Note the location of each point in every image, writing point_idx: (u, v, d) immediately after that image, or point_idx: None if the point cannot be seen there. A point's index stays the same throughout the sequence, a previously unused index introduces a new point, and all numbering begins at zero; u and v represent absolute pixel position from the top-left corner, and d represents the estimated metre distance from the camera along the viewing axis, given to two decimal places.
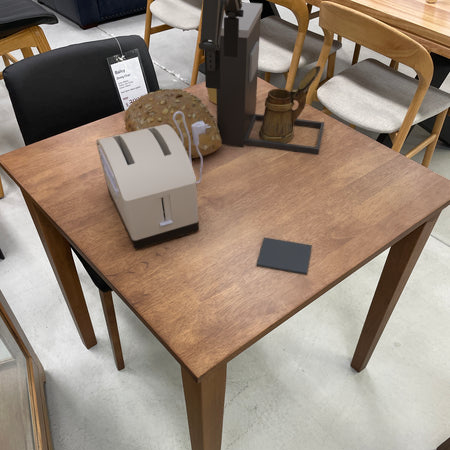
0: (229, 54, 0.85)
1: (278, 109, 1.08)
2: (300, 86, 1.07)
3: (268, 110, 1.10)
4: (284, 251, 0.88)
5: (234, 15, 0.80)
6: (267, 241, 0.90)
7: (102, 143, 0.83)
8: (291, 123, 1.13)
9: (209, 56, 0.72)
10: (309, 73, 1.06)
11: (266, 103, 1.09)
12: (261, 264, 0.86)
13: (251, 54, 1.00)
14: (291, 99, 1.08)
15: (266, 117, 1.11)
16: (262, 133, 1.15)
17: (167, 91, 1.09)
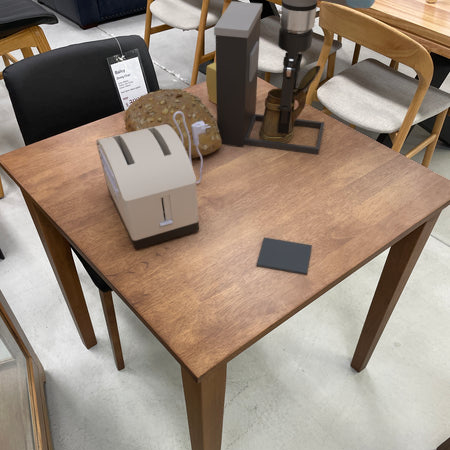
0: None
1: (278, 109, 1.08)
2: (300, 86, 1.07)
3: (268, 110, 1.10)
4: (284, 251, 0.88)
5: (292, 90, 1.11)
6: (267, 241, 0.90)
7: (102, 143, 0.83)
8: (291, 123, 1.13)
9: (283, 114, 1.07)
10: (309, 73, 1.06)
11: (266, 103, 1.09)
12: (261, 264, 0.86)
13: (251, 54, 1.00)
14: None
15: (266, 117, 1.11)
16: (262, 133, 1.15)
17: (167, 91, 1.09)
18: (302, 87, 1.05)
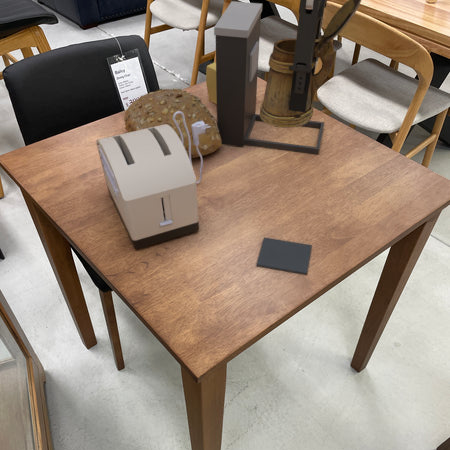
0: None
1: (290, 70, 0.67)
2: (326, 32, 0.66)
3: (274, 73, 0.69)
4: (284, 251, 0.88)
5: None
6: (267, 241, 0.90)
7: (102, 143, 0.83)
8: (310, 95, 0.72)
9: (299, 78, 0.66)
10: (341, 11, 0.65)
11: (271, 61, 0.69)
12: (261, 264, 0.86)
13: (251, 54, 1.00)
14: None
15: (270, 84, 0.71)
16: (264, 111, 0.74)
17: (167, 91, 1.09)
18: (330, 33, 0.64)
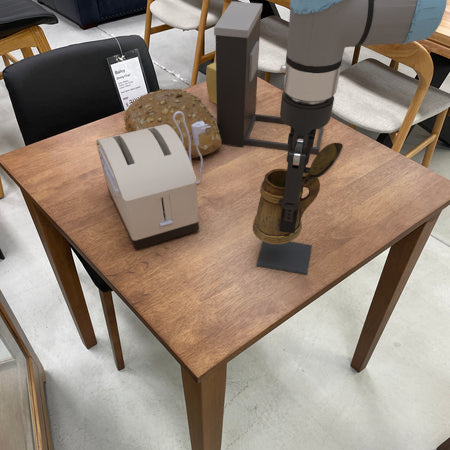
0: None
1: None
2: (312, 169, 0.72)
3: (265, 201, 0.76)
4: (284, 251, 0.88)
5: None
6: None
7: (102, 143, 0.83)
8: (298, 216, 0.79)
9: (288, 210, 0.73)
10: (325, 151, 0.72)
11: (262, 191, 0.75)
12: (261, 264, 0.86)
13: (251, 54, 1.00)
14: None
15: (262, 209, 0.77)
16: (257, 228, 0.80)
17: (167, 91, 1.09)
18: (315, 173, 0.71)
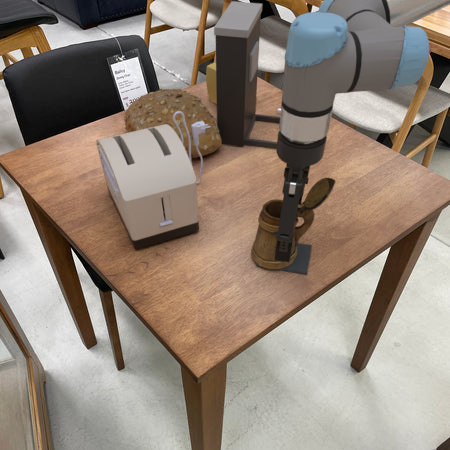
0: None
1: (276, 231, 0.79)
2: (306, 202, 0.78)
3: (263, 230, 0.81)
4: None
5: None
6: None
7: (102, 143, 0.83)
8: (294, 242, 0.84)
9: (283, 241, 0.74)
10: (319, 185, 0.77)
11: (260, 221, 0.80)
12: None
13: (251, 54, 1.00)
14: None
15: (260, 236, 0.82)
16: (255, 254, 0.86)
17: (167, 91, 1.09)
18: (310, 206, 0.76)
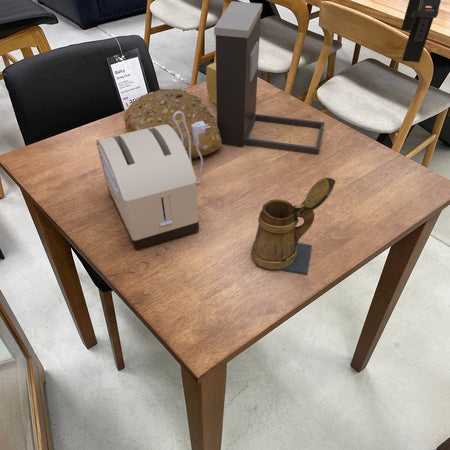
0: (408, 28, 0.80)
1: (276, 231, 0.79)
2: (307, 202, 0.78)
3: (263, 230, 0.81)
4: None
5: None
6: None
7: (102, 143, 0.83)
8: (294, 242, 0.84)
9: (421, 25, 0.67)
10: (319, 185, 0.77)
11: (260, 221, 0.80)
12: None
13: (251, 54, 1.00)
14: (294, 217, 0.79)
15: (260, 236, 0.82)
16: (255, 254, 0.86)
17: (167, 91, 1.09)
18: (310, 206, 0.76)
